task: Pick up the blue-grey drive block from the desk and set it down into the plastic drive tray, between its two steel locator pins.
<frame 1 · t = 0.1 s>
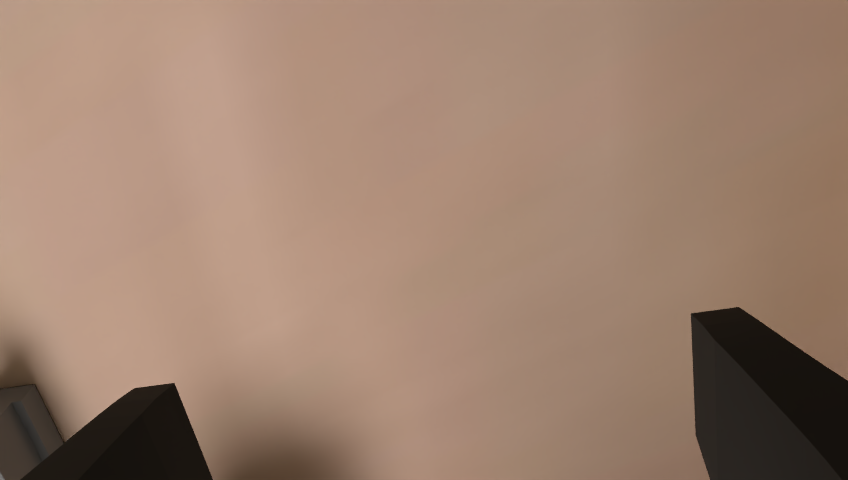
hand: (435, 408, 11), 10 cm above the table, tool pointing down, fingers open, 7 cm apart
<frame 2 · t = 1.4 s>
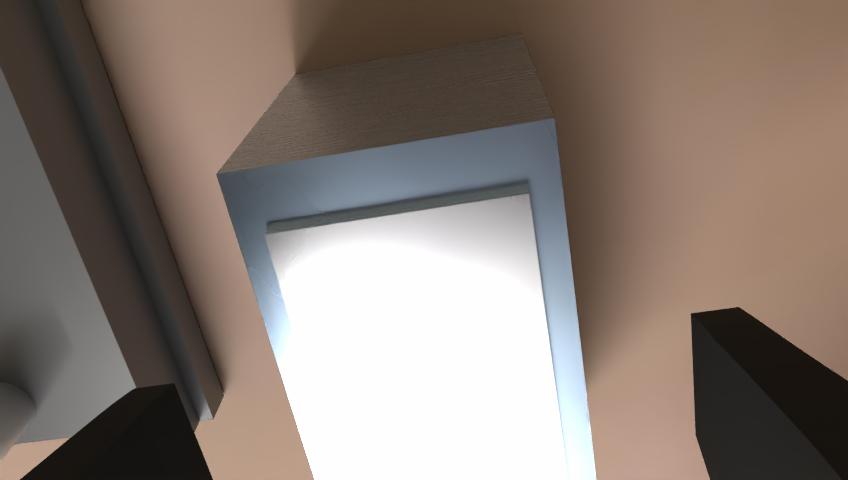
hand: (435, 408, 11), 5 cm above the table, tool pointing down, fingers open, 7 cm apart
drive: (445, 254, 15), on the table
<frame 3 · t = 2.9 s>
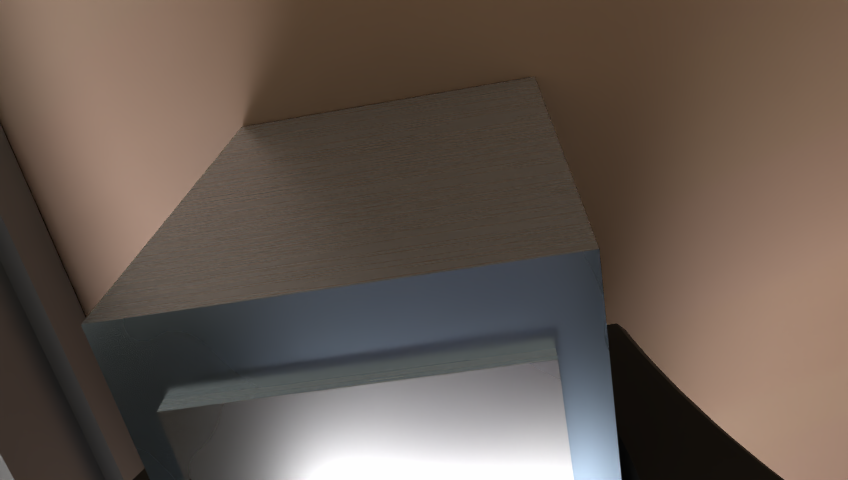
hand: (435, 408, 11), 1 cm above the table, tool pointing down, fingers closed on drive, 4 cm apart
drive: (437, 349, 12), on the table, touching gripper
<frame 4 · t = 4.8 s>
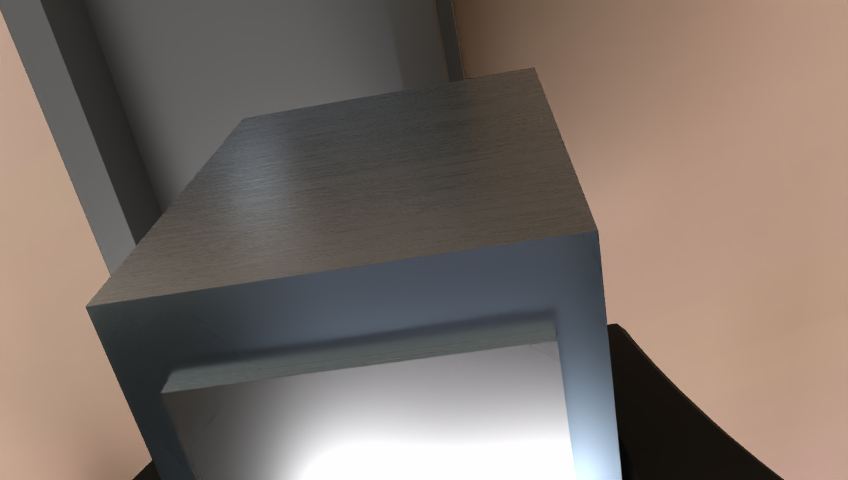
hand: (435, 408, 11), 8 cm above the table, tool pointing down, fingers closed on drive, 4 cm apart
tray: (293, 160, 18), on the table
drive: (437, 340, 12), point 6 cm above the table, touching gripper
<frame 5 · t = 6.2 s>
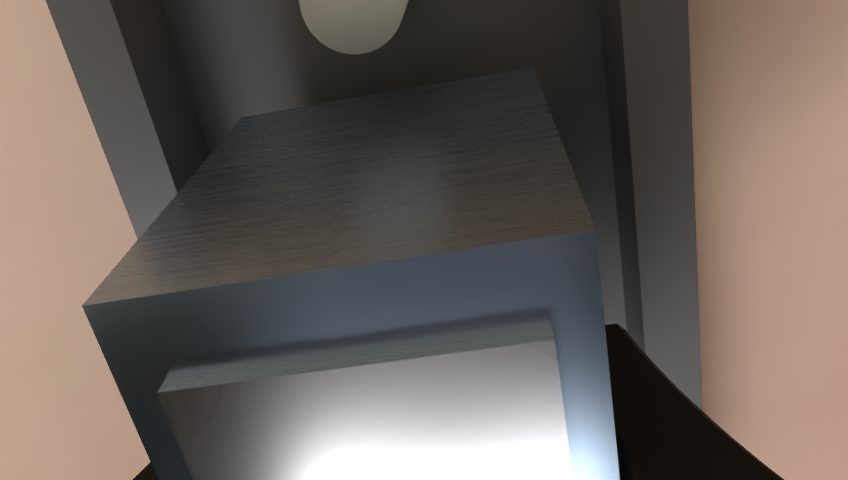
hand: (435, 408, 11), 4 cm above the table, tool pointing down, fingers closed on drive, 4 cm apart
tray: (440, 282, 14), on the table
drive: (436, 339, 12), point 2 cm above the table, touching gripper
when the fingers open (3 cm above the table, at t = 7.1 s): drive drops 1 cm, resting on tray.
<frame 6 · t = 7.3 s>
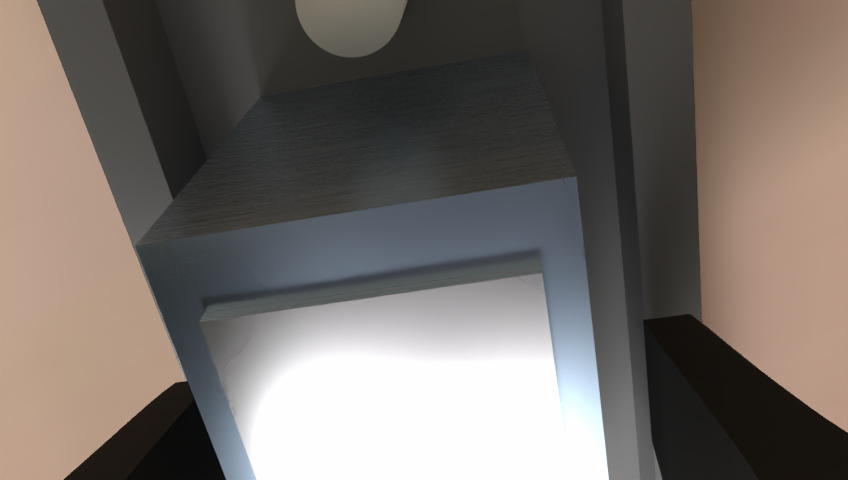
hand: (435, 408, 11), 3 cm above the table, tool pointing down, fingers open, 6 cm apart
tray: (440, 286, 14), on the table
drive: (438, 304, 13), point 1 cm above the table, touching tray
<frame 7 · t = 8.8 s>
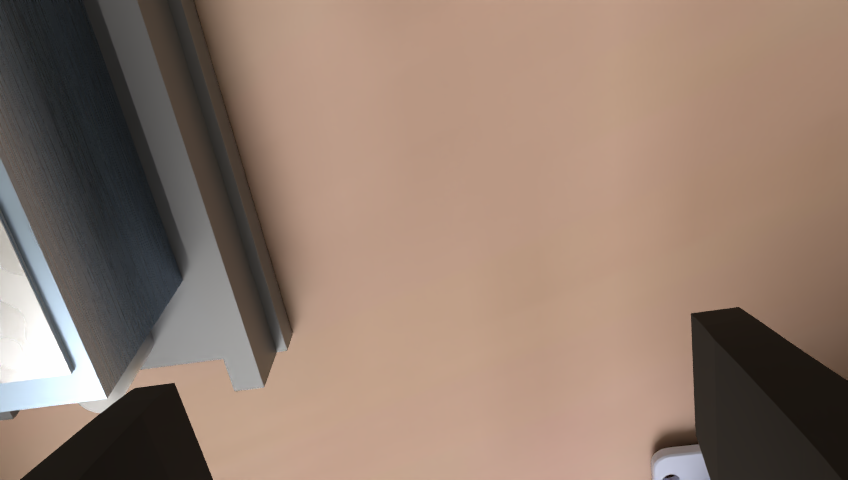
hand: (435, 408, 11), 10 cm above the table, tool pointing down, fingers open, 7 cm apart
tray: (71, 144, 20), on the table
drive: (55, 151, 19), point 1 cm above the table, touching tray
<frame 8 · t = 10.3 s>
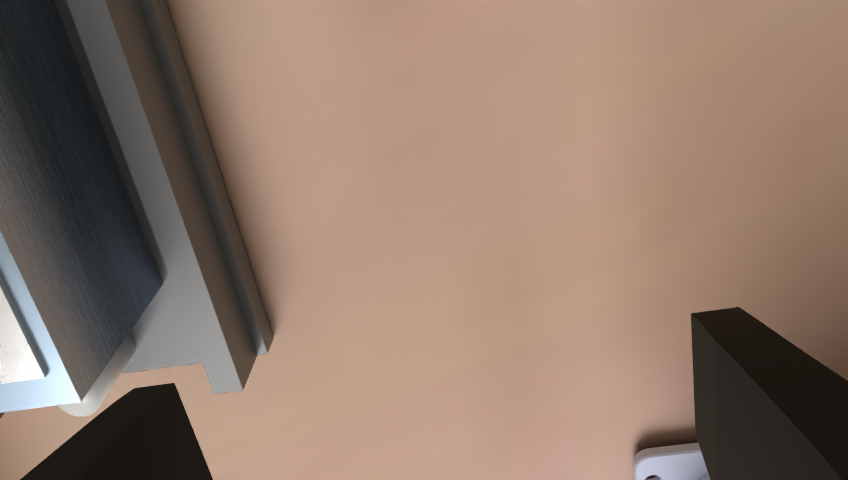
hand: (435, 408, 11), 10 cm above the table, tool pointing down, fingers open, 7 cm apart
tray: (50, 150, 20), on the table
drive: (34, 157, 19), point 1 cm above the table, touching tray
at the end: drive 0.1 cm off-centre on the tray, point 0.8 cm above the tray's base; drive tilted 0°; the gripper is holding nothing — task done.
